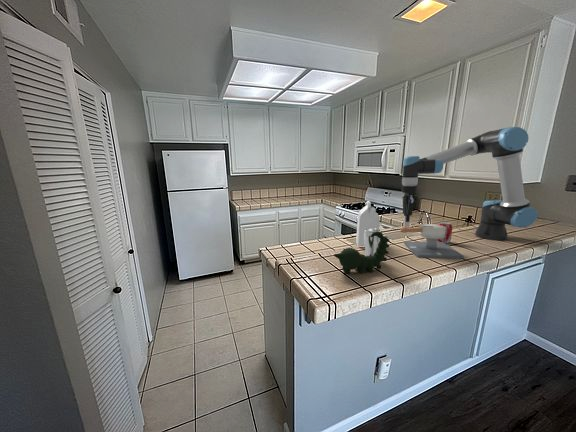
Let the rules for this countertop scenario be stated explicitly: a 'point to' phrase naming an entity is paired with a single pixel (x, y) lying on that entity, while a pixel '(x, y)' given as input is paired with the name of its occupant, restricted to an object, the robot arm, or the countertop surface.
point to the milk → (366, 222)
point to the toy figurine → (356, 260)
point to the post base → (432, 249)
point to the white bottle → (428, 231)
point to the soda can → (446, 232)
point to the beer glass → (370, 241)
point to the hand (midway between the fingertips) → (406, 226)
